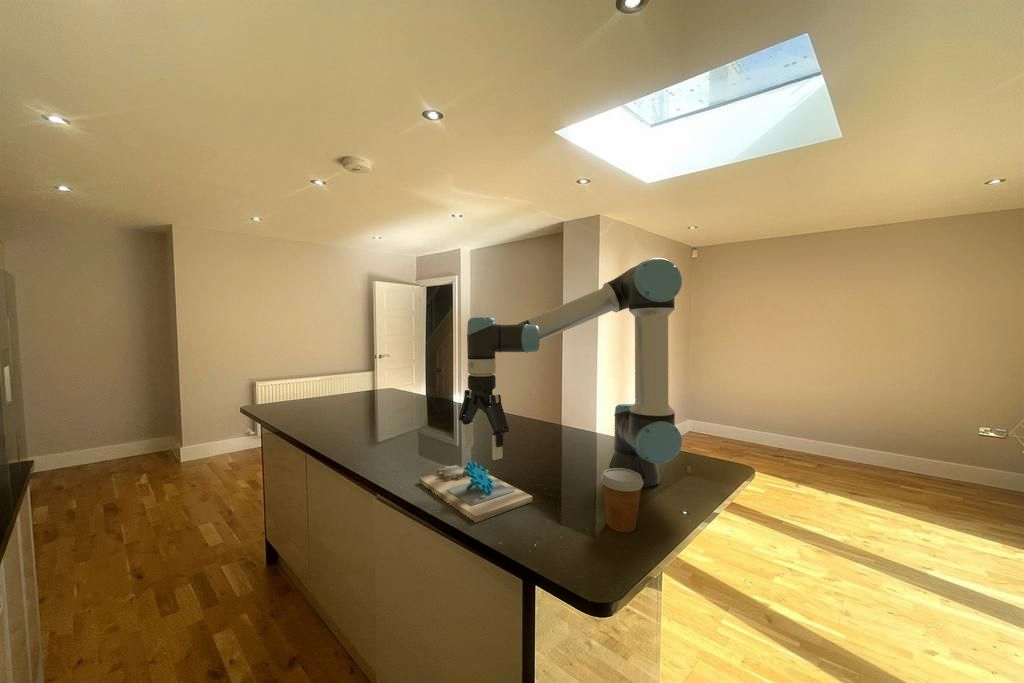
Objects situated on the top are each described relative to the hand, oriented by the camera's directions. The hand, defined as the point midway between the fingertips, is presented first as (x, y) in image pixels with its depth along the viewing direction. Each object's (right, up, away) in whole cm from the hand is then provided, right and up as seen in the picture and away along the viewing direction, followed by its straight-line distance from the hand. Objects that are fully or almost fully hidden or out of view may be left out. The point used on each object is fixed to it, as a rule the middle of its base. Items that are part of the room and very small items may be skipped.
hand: (482, 452), depth 103 cm
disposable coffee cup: (+33, -13, -15) cm, 39 cm away
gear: (-1, -11, 0) cm, 11 cm away
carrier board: (-3, -12, +3) cm, 13 cm away
